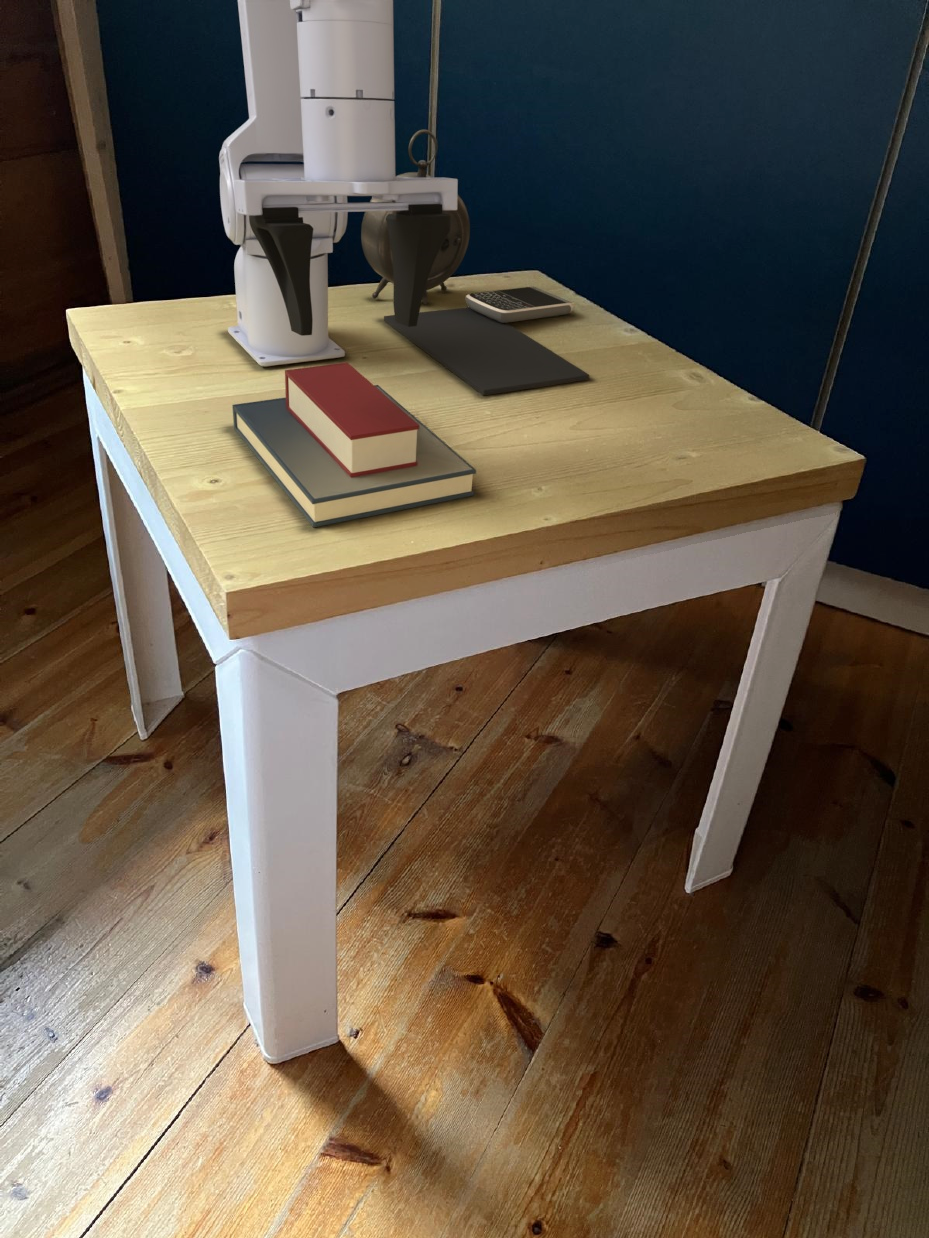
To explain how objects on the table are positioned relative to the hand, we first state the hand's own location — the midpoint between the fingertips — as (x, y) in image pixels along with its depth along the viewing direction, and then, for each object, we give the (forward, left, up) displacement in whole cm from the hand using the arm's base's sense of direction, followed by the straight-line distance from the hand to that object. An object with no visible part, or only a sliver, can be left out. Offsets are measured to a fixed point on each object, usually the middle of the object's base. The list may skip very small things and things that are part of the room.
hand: (355, 328), depth 66 cm
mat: (-18, +21, -10) cm, 29 cm away
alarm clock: (-33, +22, -10) cm, 41 cm away
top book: (0, 0, -8) cm, 8 cm away
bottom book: (0, 0, -10) cm, 10 cm away
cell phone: (-25, +30, -10) cm, 40 cm away
